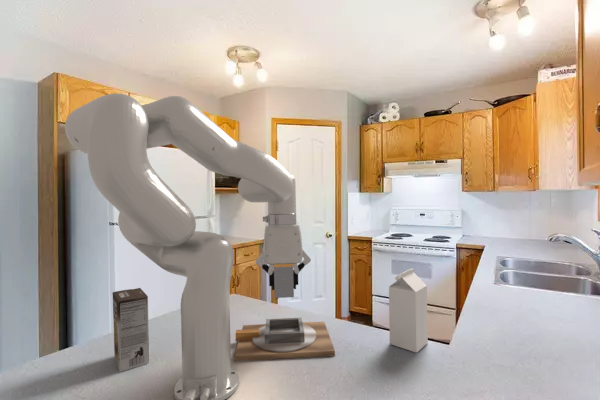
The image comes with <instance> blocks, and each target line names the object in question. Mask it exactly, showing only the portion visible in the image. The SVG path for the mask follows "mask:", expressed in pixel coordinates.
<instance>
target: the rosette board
mask: <svg viewBox="0 0 600 400" xmlns="http://www.w3.org/2000/svg"><path fill="white" fill-rule="evenodd" d="M241 328H242V329H236V331H235V341H236V342H237V341H238V342H237V346H236V349H235V352H234V356H233V357H234V359H233V361H234V362H240V361H241V362H242V361H259V360H261V361H262V360H263V361H264V360H278V359H279V360H280V359H297V358H298V359H299V358H317V357H336V351H335V347H334V344H333V342H332V338H331V337H330V334H329V330H328V329H327V325H326V323H325V321H309V322H307V321H306V322H304V321H303V318H302V317H288V318H286V317H284V318H267V319H265V323H262V324H261V323H260V324H244V325H242V327H241Z"/></svg>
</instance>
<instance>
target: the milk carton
mask: <svg viewBox="0 0 600 400" xmlns="http://www.w3.org/2000/svg"><path fill="white" fill-rule="evenodd" d="M414 271H415V269H414V267H413V268H409V269H407V270H406V271H404V272H403V271H402V272H401V273H399V274H398V275H396V276H395V278H394V279H395V280H396V281H394V282H393V283H392V284H391V285H389V287H388V311H389V313H388V314H389V315H388V317H389V322H388V323H389V344H390V345H391V346H395V347H396V348H397V347H398V348H401V349H405V350H408V351H410V352H413V353H418V352H420V351H421V350H422V349H423V348H424V347H425V346H426V345H427V344H428V341H429V339H428V334H429V333H428V288H427V286H428V285H427V284H426V283H425V282H424V281H423V280H422V279H421V278H420V277H419V276H418V275H417V274H416V273H415V272H414Z"/></svg>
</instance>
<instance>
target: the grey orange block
mask: <svg viewBox="0 0 600 400" xmlns="http://www.w3.org/2000/svg"><path fill="white" fill-rule="evenodd" d="M293 270H294V268H293V264H274V269H273V271H274V290H273V291H274V299H280V298H281V299H284V298H286V299H287V298H294V297H295V291H294V290H295V289H294V281H293Z"/></svg>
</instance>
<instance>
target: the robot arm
mask: <svg viewBox="0 0 600 400" xmlns="http://www.w3.org/2000/svg"><path fill="white" fill-rule="evenodd" d="M64 131H65V135H66V138H67V140H68V141H69V143H70V144H71V145H72V146H73V147H74V148H75V149H77V150H79V151H80V152H83V153H84V154H87V159H88V160H87V162H88V168H89V173H90V176H91V179H92V181H93V183H94V185H95V187H96V189H97V190H98V192H100V194H101V195H102V196H103V198H105V200H107V201H108V202H109V203H110V204H111V205H112V206H113V207H114V208H115V209H116V210H117V211H118V212H119V213H118V217H117V218H118V219H117V221H118V228H119V231H120V232H121V234H122V236H123V237H124V239H126V241H128V242H129V243H130V244H131V245H132V246H133V247H135V248H136V249H137V250H138V251H139V252H140V253H142V254H143V255H144V256H146V258H148V259H149V260H150V261H152V262H153V263H154V264H155V265H157V266H158V267H159V268H161V269H163V271H166V272H168V273H170V274H173V275H178V276H180V277H181V276H183V277H184V278H186V281H185V285H184V288H183V291H182V294H181V298H180V324H181V325H180V326H181V328H180V329H181V330H180V333H181V338H180V339H181V373H182V374H181V375H182V376H181V377H180V378H179V380H177V382H176V383H175V384H174V387H173V394H174V395H173V396H174V398H175V400H226V399H228V398H230V397H231V396H232V395H233V394H234V393H235V392H236V391H237V389H238V388H239V384H240V377H239V374H238V372H237V371H236V370H235V369H233V368H232V360H231V359H232V358H231V357H232V353H231V352H232V350H231V348H232V347H231V344H232V343H231V308H230V304H231V303H230V301H231V300H230V294H231V293H230V289H231V287H230V285H231V277H232V272H233V268H234V267H233V266H234V257H235V254H234V248H233V246H232V244H231V243H230V241H229V240H228V238H226V237H224V236H223V235H221V234H219V233H215V232H212V231H211V232H210V231H200V230H199V231H197V230H196V226H197V222H196V217H195V215H194V213H193V211H192V210H191V208H190V207H189V206H188V205H187V203H185V201H183V200H182V198H180V197H179V195H177V194H176V193H175V192H174V190H173V189H171V187H170V186H169V185H168V184H167V183H166V182H165V181H164V180H163V179H162V178H161V177H160V175H159V174H158V173H157V172H156V171H155V170H154V169H153V167H152V165H151V162H150V160H149V158H148V153H147V149H152V148H157V147H163V146H169V145H172V146H174V147H176V148H177V149H178V150H180V151H181V152H183V153H184V154H186V155H187V156H188V157H190V158H191V159H193V160H194V161H196V162H197V163H198V164H200V165H201V166H203V167H204V168H205V169H207V170H208V171H210V172H212V173H215V174H220V175H222V176H228V177H235V178H241V179H240V180H239V182H238V185H237V188H238V189H237V190H238V191H237V192H238V193H239V195H240V197H241V198H242V199H244V200H245V201H247V202H249V203H267V215H265V216H262V222H265V223H268V225H266V226H265V228H264V234H263V235H264V236H263V251H262V252H261V253H260V254H259V256H258V257H257V259H256V260H255V264H257V265H258V266H259V267H260V268H262V270H264V271H265V272H266V273H267V275H268V279H269V281H268V282H269V284H268V285H269V287H271V290H272V291H274V264H293V281H294V290H296V289H297V286H299V274H300V272H301V271H302V270H303V269H304V268H305V267H306V266H307V265H308V264H309V263H310V262H311V261H312V260H311V258H310V256H309V255H308V254H307V253H306V252H305V250H304V249H303V242H302V241H303V240H302V232H301V228H300V227H301V226H300V225H299V224H297V195H296V191H297V189H296V178H295V176H294V175H293V174H290V173H289V171H288V170H287V169H286V168H285V167H284V166H283V165H282V164H281V163H280V162H278V160H276V159H275V158H274V156H273V157H272V156H271V155H269V154H267V152H266V153H265V152H264V151H261V150H260V149H257V148H254V147H252V146H250V145H248V144H246V143H243V142H241V141H238V140H235V139H234V138H233V137H231V136H230V135H229V134H228V133H227V132H226V131H225V130H223V129H222V127H220V126H219V125H218V124H217V123H215V122H214V121H213V120H212V119H211V118H209V116H207V114H206V113H204V112H203V111H202V110H200V108H199V107H197V106H196V104H193V102H191V101H190V100H189V99H187V98H185V97H182V96H179V95H172V96H171V95H170V96H167V97H163V98H160V99H157V100H155V101H152V102H149V103H147V104H143V105H142V104H141V103H140V102H139V101H138V100H137V99H135V98H134V97H133V96H131V95H128V94H126V93H119V92H118V93H110V94H109V93H108V94H105V95H101V96H100V97H97V98H95V99H93V100H91V101H89V102H87V103H86V104H84V105H82V106H79V107H77V108H75V109H74V110H73V111H72V112H71V113H70V114H69V115H68V117H66V120H65V124H64ZM263 260H264V261H263Z"/></svg>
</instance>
